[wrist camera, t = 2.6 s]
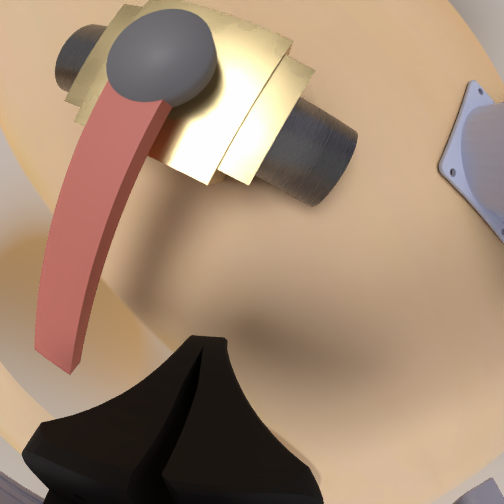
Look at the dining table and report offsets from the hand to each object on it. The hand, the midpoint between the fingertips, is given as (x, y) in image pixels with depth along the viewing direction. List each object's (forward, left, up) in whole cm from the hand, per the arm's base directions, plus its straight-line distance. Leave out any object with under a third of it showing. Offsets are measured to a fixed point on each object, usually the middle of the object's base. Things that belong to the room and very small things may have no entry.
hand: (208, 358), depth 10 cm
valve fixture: (+6, -9, -6) cm, 12 cm away
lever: (+6, -3, 0) cm, 7 cm away
